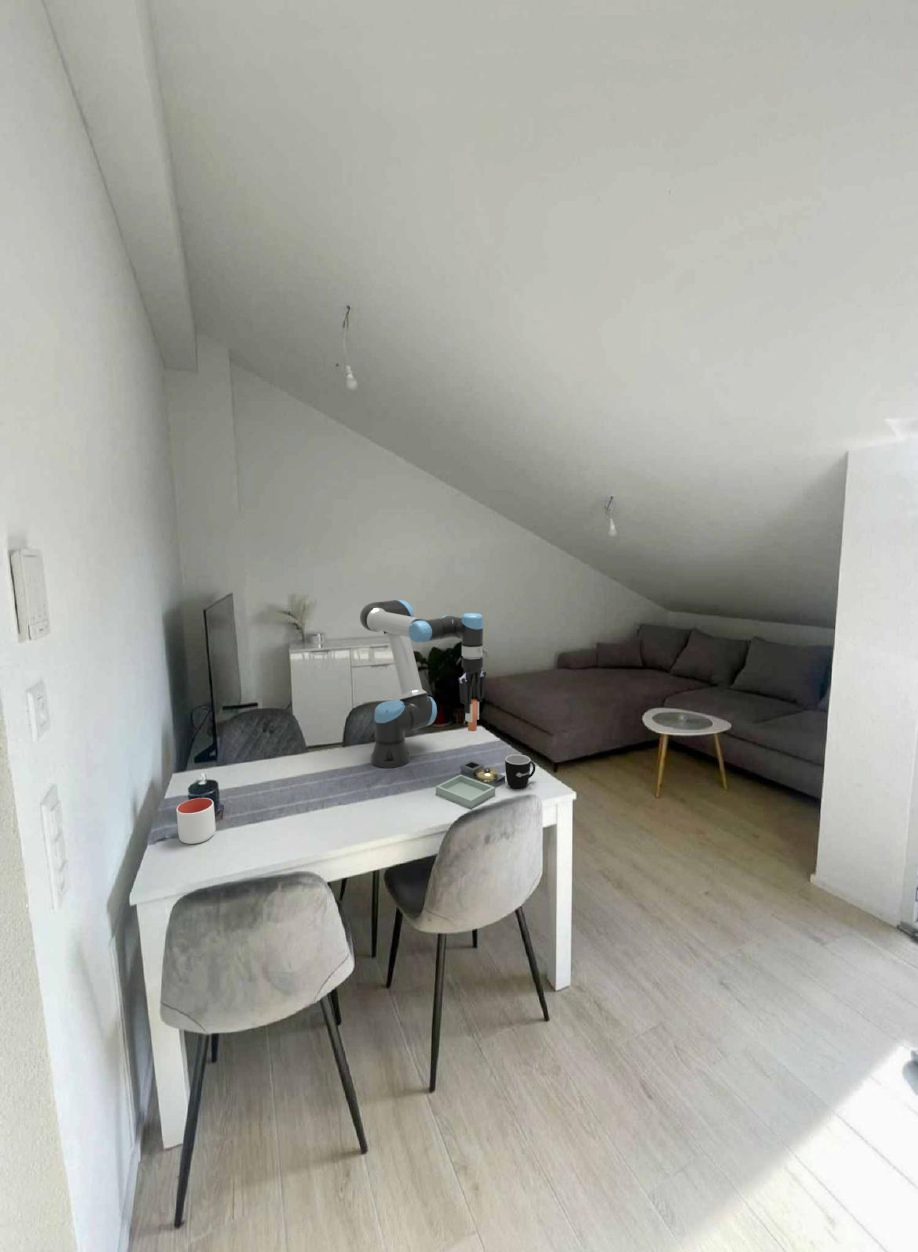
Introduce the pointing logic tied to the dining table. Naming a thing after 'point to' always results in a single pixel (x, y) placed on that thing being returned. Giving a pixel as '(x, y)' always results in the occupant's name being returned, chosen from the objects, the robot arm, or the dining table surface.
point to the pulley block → (481, 773)
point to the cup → (196, 820)
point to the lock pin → (473, 716)
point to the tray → (465, 791)
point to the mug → (518, 771)
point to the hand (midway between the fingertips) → (472, 719)
